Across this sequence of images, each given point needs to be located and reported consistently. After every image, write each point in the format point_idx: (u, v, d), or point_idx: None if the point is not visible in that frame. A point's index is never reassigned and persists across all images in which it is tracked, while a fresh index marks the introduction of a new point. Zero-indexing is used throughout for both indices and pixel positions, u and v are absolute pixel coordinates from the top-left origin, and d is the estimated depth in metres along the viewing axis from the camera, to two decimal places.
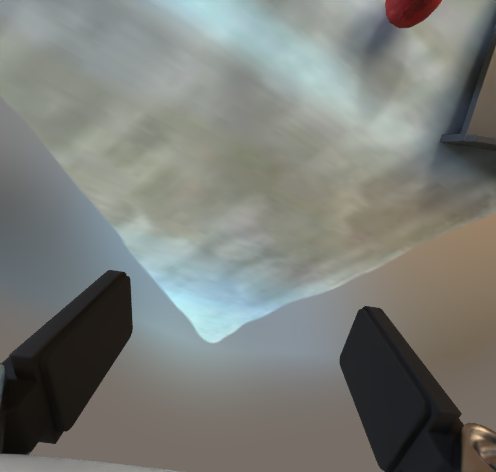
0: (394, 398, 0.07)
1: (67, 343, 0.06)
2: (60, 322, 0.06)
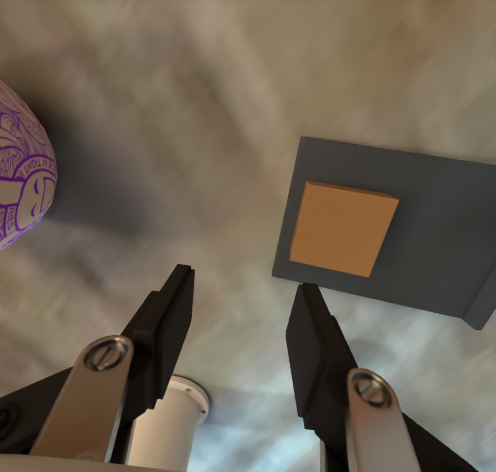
0: (309, 354, 0.08)
1: (169, 323, 0.07)
2: (160, 305, 0.07)
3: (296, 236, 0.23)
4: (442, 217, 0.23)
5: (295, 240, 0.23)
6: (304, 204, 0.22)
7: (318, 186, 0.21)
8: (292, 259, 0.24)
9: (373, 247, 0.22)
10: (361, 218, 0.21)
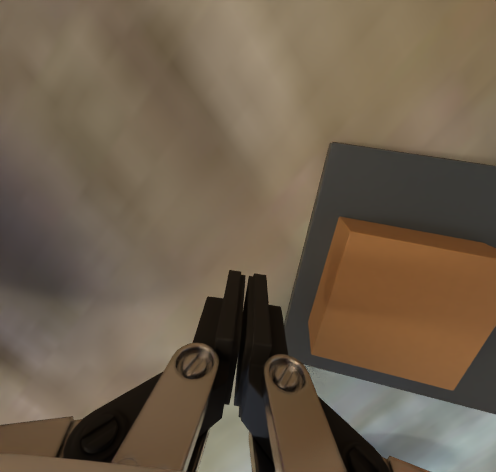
0: (243, 342, 0.08)
1: None
2: (229, 313, 0.07)
3: (324, 318, 0.13)
4: None
5: (322, 324, 0.13)
6: (342, 266, 0.12)
7: (370, 236, 0.11)
8: (316, 353, 0.14)
9: (468, 345, 0.12)
10: (451, 296, 0.11)
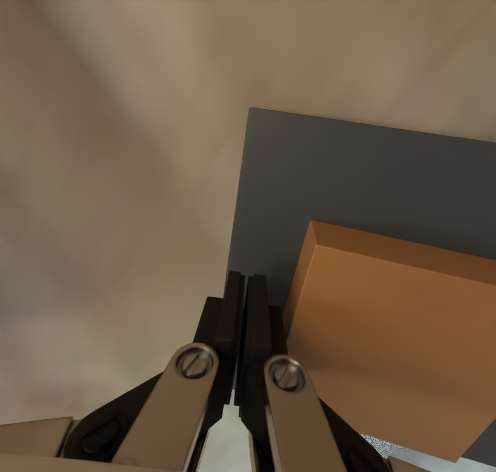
0: (243, 343, 0.08)
1: None
2: (230, 313, 0.07)
3: None
4: None
5: None
6: (304, 294, 0.08)
7: (345, 253, 0.07)
8: None
9: (481, 409, 0.08)
10: (461, 343, 0.08)
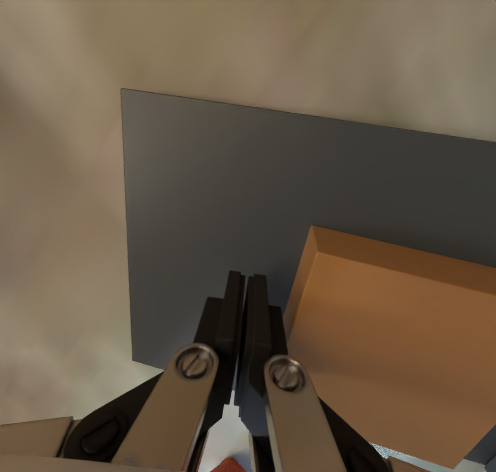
0: (243, 343, 0.08)
1: None
2: (230, 313, 0.07)
3: None
4: None
5: None
6: (304, 301, 0.08)
7: (346, 261, 0.07)
8: None
9: (480, 417, 0.08)
10: (461, 352, 0.08)
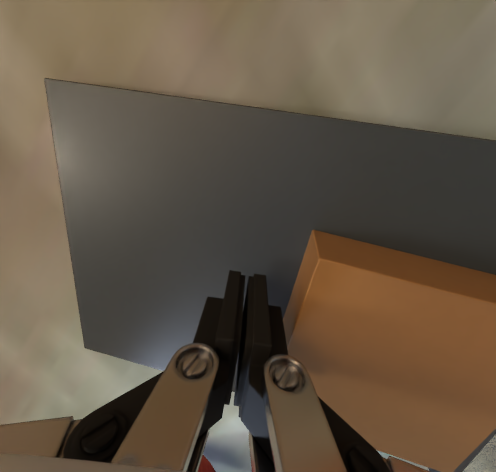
0: (243, 342, 0.08)
1: None
2: (230, 313, 0.07)
3: None
4: None
5: None
6: (305, 306, 0.08)
7: (348, 267, 0.07)
8: None
9: (478, 423, 0.09)
10: (461, 359, 0.08)
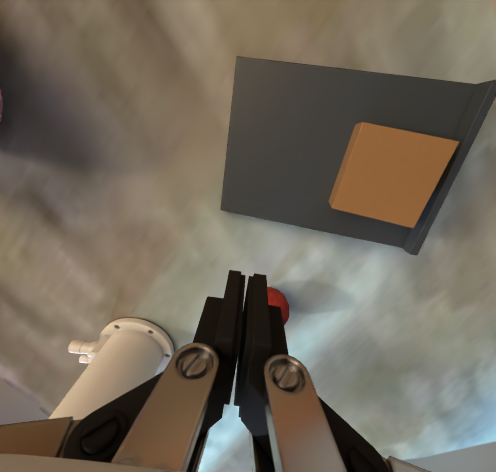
0: (243, 343, 0.08)
1: None
2: (229, 313, 0.07)
3: (342, 181, 0.22)
4: None
5: (340, 185, 0.23)
6: (355, 145, 0.21)
7: (373, 125, 0.20)
8: (334, 207, 0.23)
9: (423, 195, 0.21)
10: (415, 162, 0.21)
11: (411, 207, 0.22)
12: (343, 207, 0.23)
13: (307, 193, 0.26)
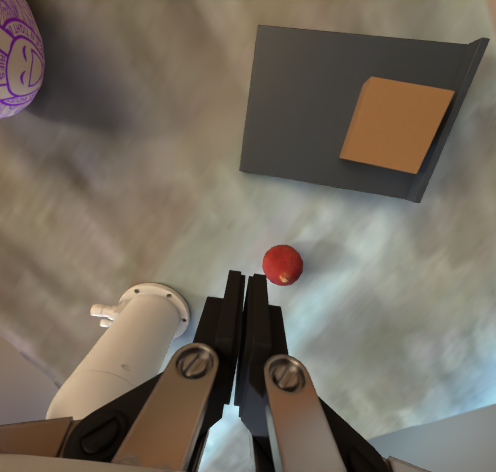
0: (243, 343, 0.08)
1: None
2: (230, 313, 0.07)
3: (353, 132, 0.25)
4: None
5: (351, 136, 0.25)
6: (365, 98, 0.24)
7: (380, 78, 0.23)
8: (346, 157, 0.26)
9: (425, 141, 0.24)
10: (417, 111, 0.24)
11: (414, 154, 0.25)
12: (354, 157, 0.26)
13: (320, 150, 0.29)
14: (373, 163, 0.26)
